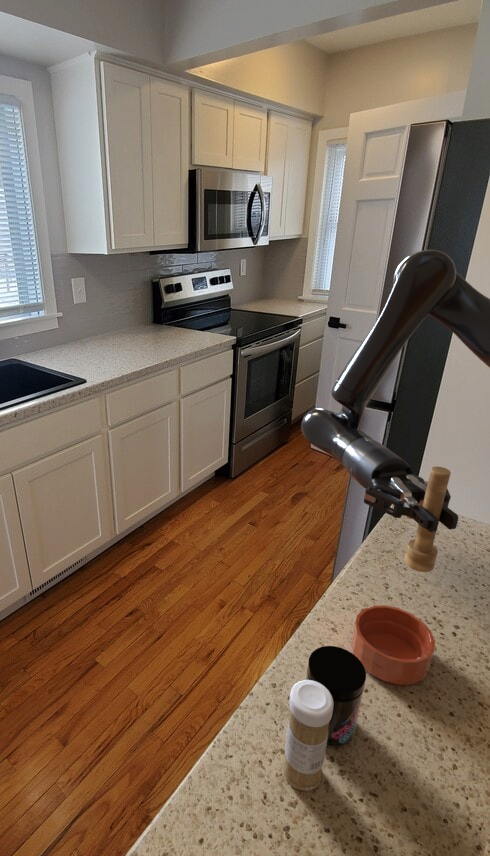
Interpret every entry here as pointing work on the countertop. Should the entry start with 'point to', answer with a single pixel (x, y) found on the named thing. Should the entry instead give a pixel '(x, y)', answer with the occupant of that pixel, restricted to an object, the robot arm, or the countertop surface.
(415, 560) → the muddler
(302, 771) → the sprinkles bottle
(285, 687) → the countertop surface
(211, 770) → the countertop surface
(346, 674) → the supplement container
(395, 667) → the bowl
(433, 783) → the countertop surface
